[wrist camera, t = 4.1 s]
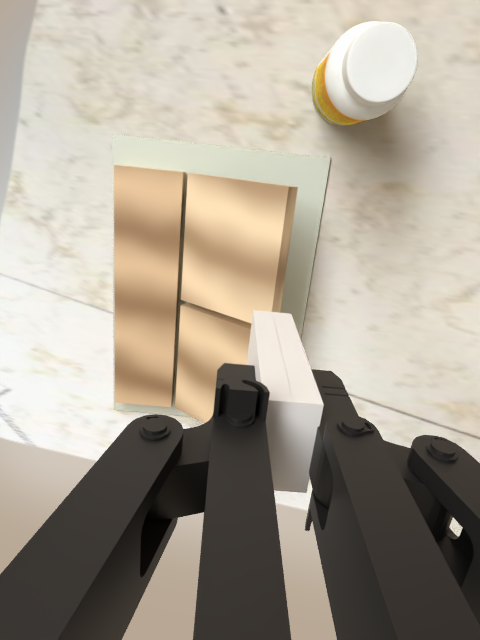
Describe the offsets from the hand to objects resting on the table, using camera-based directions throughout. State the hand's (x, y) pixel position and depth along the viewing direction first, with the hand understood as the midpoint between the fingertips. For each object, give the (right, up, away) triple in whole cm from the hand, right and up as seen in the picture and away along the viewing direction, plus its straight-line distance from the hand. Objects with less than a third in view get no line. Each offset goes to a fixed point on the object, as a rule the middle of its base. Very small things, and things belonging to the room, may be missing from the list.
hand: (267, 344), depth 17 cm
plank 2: (-2, -4, +21) cm, 22 cm away
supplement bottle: (+7, +19, +16) cm, 26 cm away
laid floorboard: (-9, +3, +22) cm, 24 cm away
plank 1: (-1, +7, +17) cm, 19 cm away
